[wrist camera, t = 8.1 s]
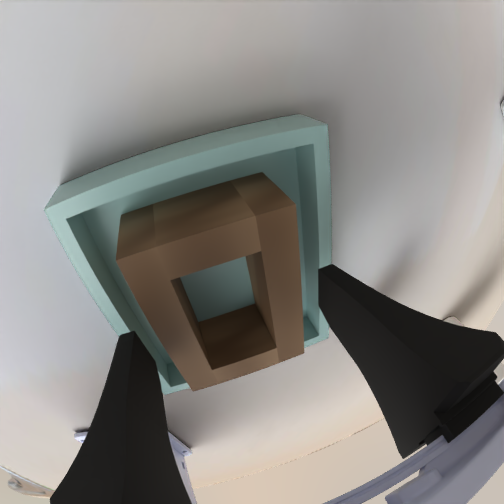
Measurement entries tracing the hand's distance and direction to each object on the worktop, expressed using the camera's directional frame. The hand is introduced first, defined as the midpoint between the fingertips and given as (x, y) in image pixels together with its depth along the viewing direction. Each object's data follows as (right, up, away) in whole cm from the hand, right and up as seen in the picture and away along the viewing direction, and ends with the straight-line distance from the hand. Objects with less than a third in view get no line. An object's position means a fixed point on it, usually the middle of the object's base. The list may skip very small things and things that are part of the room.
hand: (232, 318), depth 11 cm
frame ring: (-1, +2, +2) cm, 3 cm away
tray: (-1, +2, +3) cm, 3 cm away
